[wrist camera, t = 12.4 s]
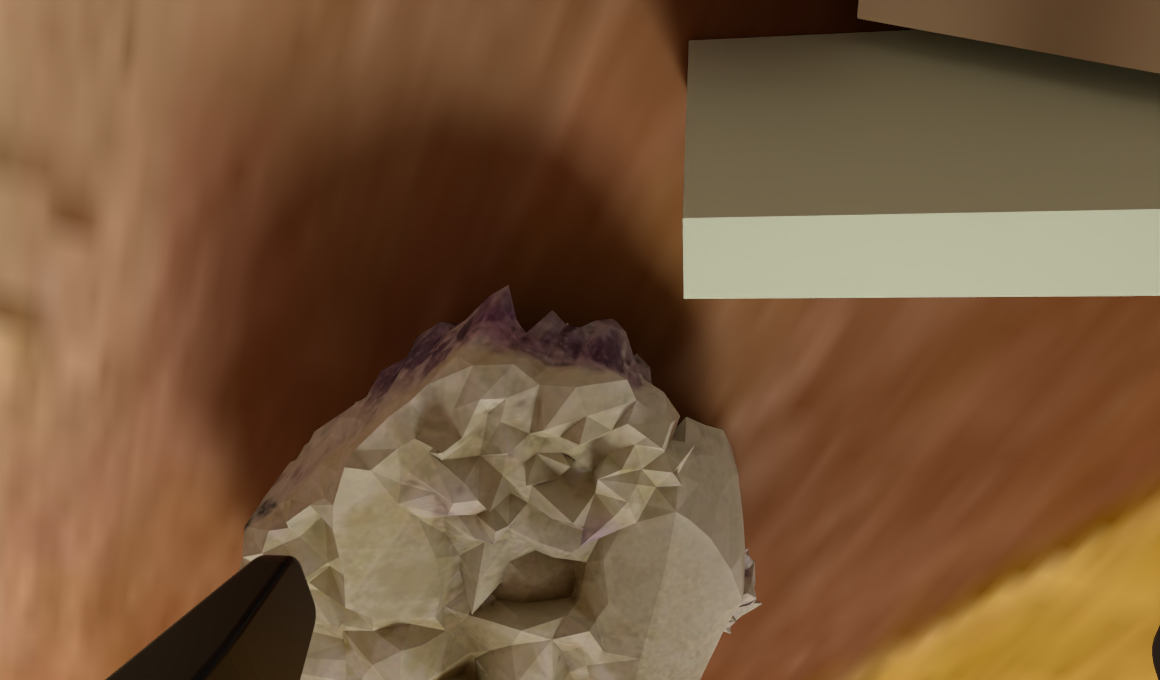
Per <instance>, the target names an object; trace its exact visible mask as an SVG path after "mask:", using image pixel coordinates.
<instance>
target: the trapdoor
mask: <svg viewBox="0 0 1160 680" xmlns="http://www.w3.org/2000/svg"><path fill="white" fill-rule="evenodd" d="M857 18H858V19H864V20H869V21H874V22H880V23H885V24H891V25H896V26H902V27H907V28H913V29H918V30H924V31H929V32H935V33H940V34H946V35H951V36H957V37H962V38H967V39H973V40H978V41H984V42H989V43H995V44H1000V45H1006V46H1011V47H1017V48H1022V49H1028V50H1033V51H1039V52H1044V53H1050V54H1055V55H1060V56H1066V57H1071V58H1077V59H1082V60H1088V61H1093V62H1099V63H1104V64H1110V65H1115V66H1121V67H1126V68H1132V69H1137V70H1143V71H1148V72H1153V73H1159V74H1160V0H859V3H858V13H857Z"/></svg>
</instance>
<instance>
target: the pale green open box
mask: <svg viewBox="0 0 1160 680" xmlns="http://www.w3.org/2000/svg"><path fill="white" fill-rule="evenodd" d="M683 279H684V299H733V298H889V297H1046V296H1160V74H1159V73H1153V72H1148V71H1143V70H1137V69H1132V68H1126V67H1121V66H1115V65H1110V64H1104V63H1099V62H1093V61H1088V60H1082V59H1077V58H1071V57H1066V56H1060V55H1055V54H1050V53H1044V52H1039V51H1033V50H1028V49H1022V48H1017V47H1011V46H1006V45H1000V44H995V43H989V42H984V41H978V40H973V39H967V38H962V37H957V36H951V35H946V34H940V33H935V32H929V31H924V30H901V31H880V32H858V33H837V34H816V35H795V36H773V37H752V38H731V39H710V40H689V49H688V79H687V109H686V140H685V170H684V200H683Z"/></svg>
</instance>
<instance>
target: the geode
mask: <svg viewBox="0 0 1160 680" xmlns="http://www.w3.org/2000/svg"><path fill="white" fill-rule="evenodd" d="M679 418H680V415H679V414H678V412H677V411H676V409H675V408H674V406H673V405H672V403H671V402H670V401H669V399H668V398H667V396H666V395H665V393H664V392H663V391H661V390H660V389H658V388H657V387H655V386H654V385H652V382H651V371H650V367H649V366H648V365H647V364H646V363H645V362H644V360H643V359H642V358H641V357H640V356H639V355H638V354H637V353H636V354H635V355H634V356H633V353H632V349H631V346H630V343H629V340H628V337H627V334H626V332H625V331H624V329H623V328H622V327H621V326H620V325H619V323H618V322H617V321H616V320H613V319H604V320H595V321H593V322H591V323H589V324H587V325H585V326H582V327H576V326H571V325H568V322H567V323H566V324H565V323H564V322H563V321H562V320H561V319H560V317H559V316H558V315H557V314H556V313H555V312H554V311H553V310H552V311H551V312H550V313H548V314H547V315H546V316H545V317H544V318H543V319H542V320H540V321H539V322H538V323H537V324H536V325H535V326H533V327H532V328H531V329H530V330H529V331H528V332H526V331H525V330H524V329H523V328H522V327H521V326H520V324H519V322H518V321H517V319H516V314H515V310H514V306H513V301H512V297H511V293H510V288H509V285H508V286H506V287H504V288H502V289H500V290H499V291H497V292H495V293H493V294H492V295H490V296H489V297H488V298H487V299H486V300H485V301H484V302H483V303H482V304H481V305H480V306H479V307H478V308H477V309H476V310H475V311H474V312H473V313H472V314H471V315H470V316H469V317H468V318H467V319H466V320H465V321H462V322H459V323H448V322H439V323H438V324H436V325H435V326H433V327H431V328H430V329H428V330H427V331H425V332H424V333H422V334H420V335H419V336H418V337H417V338H416V340H415V342H414V344H413V346H412V348H411V350H410V351H409V353H408V355H407V357H406V358H404V359H402V360H400V361H399V362H397V363H395V364H393V365H391V366H389V367H387V368H385V369H384V370H382V371H381V372H380V373H379V375H378V377H377V379H376V380H375V382H374V384H373V386H372V388H371V389H370V391H369V393H368V395H367V397H365V398H364V399H362V400H361V401H358V402H355V404H354V405H353V406H352V407H350V408H349V409H347V410H346V411H344V412H343V413H341V414H340V415H338V416H337V417H335V418H334V419H332V420H331V421H329V422H328V423H326V424H325V425H323V426H322V427H320V428H319V429H317V430H316V431H314V433H313V435H312V437H311V439H310V441H309V442H308V443H307V444H306V445H304V447H303V449H302V450H301V452H300V454H299V456H298V458H297V459H296V460H294V461H292V462H290V463H289V464H288V466H287V467H286V468H285V470H284V471H283V472H282V474H281V475H280V476H279V478H278V479H277V480H276V482H275V483H274V484H273V486H272V487H271V489H270V490H269V491H268V493H267V494H266V495H265V497H264V498H263V500H262V501H261V503H260V504H259V506H258V507H257V509H256V510H255V512H254V513H253V515H252V516H251V518H250V520H249V521H248V523H247V524H246V526H245V530H244V544H243V558H242V561H241V565H240V568H239V570H241V569H242V568H243V567H244V566H246V565H247V564H248V563H249V562H251V561H252V560H253V559H255V558H257V557H259V556H262V555H287V556H293V557H295V558H296V559H297V560H298V561H299V562H300V564H301V566H302V569H303V572H304V575H305V578H306V580H307V583H308V586H309V589H310V591H311V594H312V597H313V600H314V603H315V608H316V620H315V626H314V630H313V634H312V638H311V642H310V645H309V649H308V653H307V657H306V660H305V664H304V668H303V672H302V675H301V679H300V680H700V678H701V676H702V674H703V672H704V670H705V668H706V666H707V664H708V662H709V660H710V658H711V656H712V654H713V652H714V650H715V648H716V645H717V643H718V641H719V639H720V637H721V635H722V633H723V631H724V632H727V633H730V634H731V628H730V626H731V625H732V624H733V623H734V622H736V621H737V620H738V619H739V618H740V617H741V616H742V615H744V614H746V613H747V612H749V611H751V610H752V609H754V608H756V607H758V606H759V605H761V604H763V603H761V602H759V601H757V600H756V599H757V598H756V593H755V589H754V586H755V563H754V560H752V559H751V558H750V557H749V554H748V552H747V551H748V549H745V540H744V525H743V512H742V502H741V493H740V484H739V475H738V471H737V467H736V463H735V459H734V455H733V451H732V447H731V445H730V443H729V441H728V439H727V437H726V435H725V433H724V431H723V430H722V429H718V428H714V427H711V426H707V425H704V424H702V423H699V422H697V421H695V420H692V419H690V418H688V417H685V419H684V420H683V421H682V422H681V423H680V424H679V425H678V426H677V424H678V421H679Z"/></svg>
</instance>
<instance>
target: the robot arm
mask: <svg viewBox="0 0 1160 680" xmlns="http://www.w3.org/2000/svg"><path fill="white" fill-rule="evenodd" d="M315 620H316V608H315V603H314V600H313V597H312V594H311V591H310V589H309V586H308V583H307V580H306V578H305V575H304V572H303V569H302V566H301V564H300V562H299V561H298V560H297V559H296V558H295V557H293V556H287V555H262V556H259V557H257V558H255V559H253V560H252V561H251V562H249V563H248V564H247V565H246V566H244V567H243V568H242V569H241V570H239V571H238V572H237V573H236V574H235V575H233V576H232V577H231V578H230V579H228V580H227V581H226V582H225V583H223V584H222V585H221V586H220V587H219V588H217V589H216V590H215V591H214V592H212V593H211V594H210V595H209V596H208V597H206V598H205V599H204V600H203V601H201V602H200V603H199V604H198V605H196V606H195V607H194V608H193V609H192V610H190V611H189V612H188V613H187V614H185V615H184V616H183V617H182V618H180V619H179V620H178V621H177V622H176V623H174V624H173V625H172V626H171V627H169V628H168V629H167V630H166V631H164V632H163V633H162V634H161V635H160V636H158V637H157V638H156V639H155V640H153V641H152V642H151V643H150V644H148V645H147V646H146V647H145V648H144V649H142V650H141V651H140V652H139V653H137V654H136V655H135V656H134V657H132V658H131V659H130V660H129V661H128V662H126V663H125V664H124V665H123V666H121V667H120V668H119V669H118V670H116V671H115V672H114V673H113V674H112V675H110V676H109V677H108V678H107V679H105V680H300V679H301V675H302V672H303V668H304V664H305V660H306V657H307V653H308V649H309V645H310V642H311V638H312V634H313V630H314V626H315ZM1152 656H1153V663H1154V667H1155V670H1156V673H1157V677H1158V680H1160V626H1159V628H1158V631H1157V633H1156V635H1155V637H1154V641H1153V647H1152Z"/></svg>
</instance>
